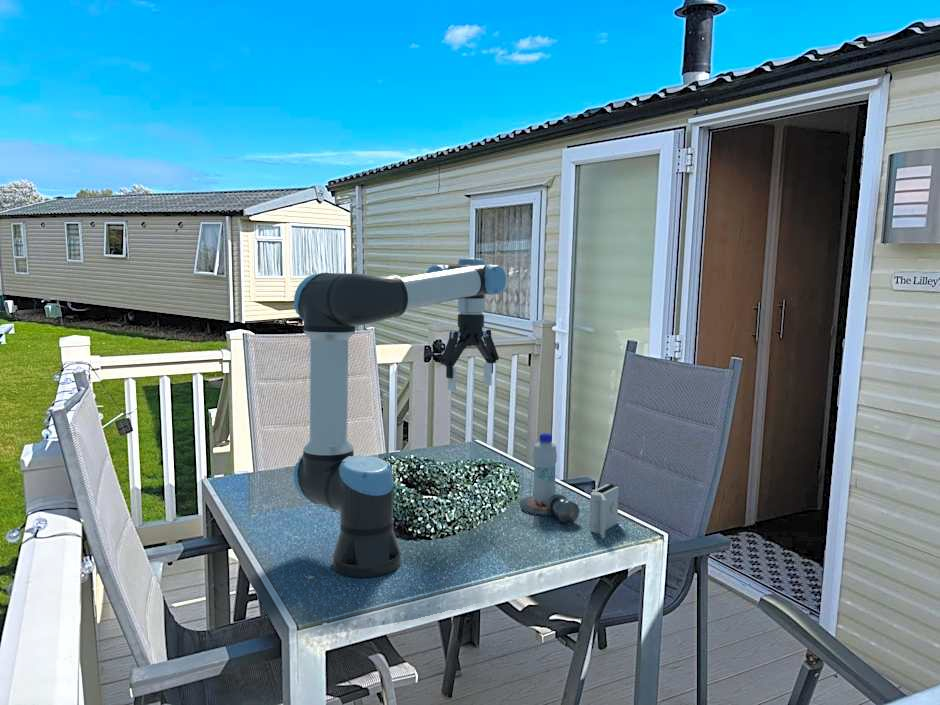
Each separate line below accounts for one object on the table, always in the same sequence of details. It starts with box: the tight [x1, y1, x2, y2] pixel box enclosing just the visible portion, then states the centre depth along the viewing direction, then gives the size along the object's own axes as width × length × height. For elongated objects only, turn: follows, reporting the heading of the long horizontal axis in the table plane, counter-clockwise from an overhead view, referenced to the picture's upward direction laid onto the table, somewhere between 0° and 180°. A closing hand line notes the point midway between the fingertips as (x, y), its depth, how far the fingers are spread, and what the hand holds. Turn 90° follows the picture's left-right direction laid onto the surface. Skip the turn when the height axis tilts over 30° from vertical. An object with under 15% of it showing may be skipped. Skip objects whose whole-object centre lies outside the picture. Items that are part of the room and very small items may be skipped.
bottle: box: [532, 432, 558, 506], centre depth 189 cm, size 7×7×20 cm
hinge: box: [589, 483, 620, 539], centre depth 174 cm, size 14×5×10 cm, turn 153°
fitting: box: [519, 493, 580, 525], centre depth 187 cm, size 21×14×6 cm
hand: (470, 387), depth 195 cm, fingers open, 13 cm apart
